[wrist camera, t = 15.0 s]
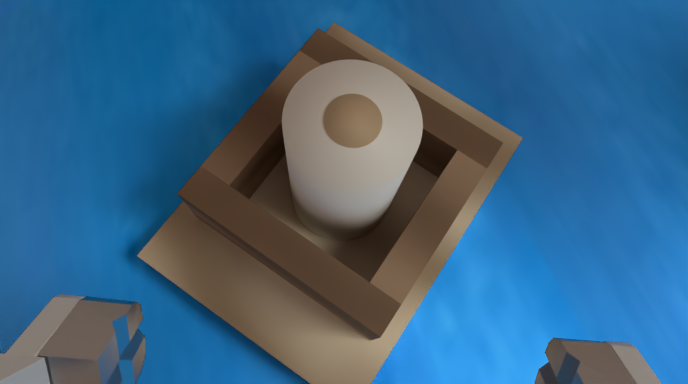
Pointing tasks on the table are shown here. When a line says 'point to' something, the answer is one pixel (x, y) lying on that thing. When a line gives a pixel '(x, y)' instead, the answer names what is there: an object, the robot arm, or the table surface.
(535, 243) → the table surface
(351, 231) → the paper roll
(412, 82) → the roll stand
